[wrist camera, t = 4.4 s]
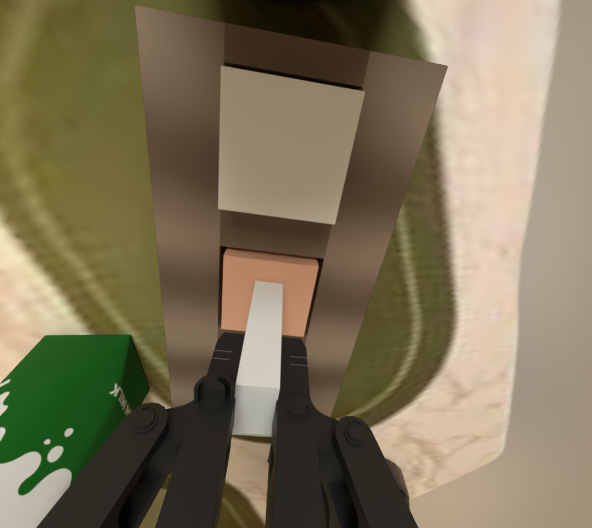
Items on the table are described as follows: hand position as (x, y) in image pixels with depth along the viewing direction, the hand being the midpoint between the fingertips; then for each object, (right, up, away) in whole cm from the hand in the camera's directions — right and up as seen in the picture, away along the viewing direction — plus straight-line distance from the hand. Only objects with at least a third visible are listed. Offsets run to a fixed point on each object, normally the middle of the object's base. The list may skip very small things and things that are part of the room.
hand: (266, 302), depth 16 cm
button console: (0, +3, +5) cm, 6 cm away
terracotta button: (0, +2, +3) cm, 4 cm away
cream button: (+1, +8, -2) cm, 8 cm away
